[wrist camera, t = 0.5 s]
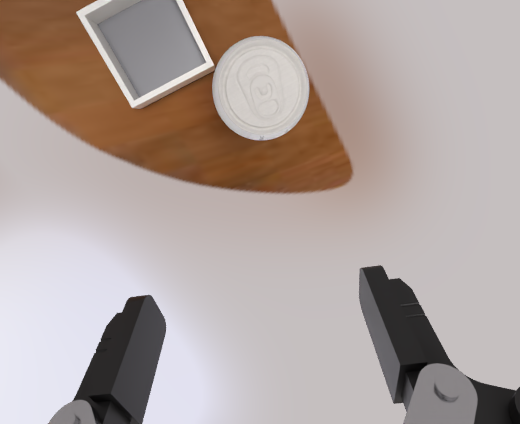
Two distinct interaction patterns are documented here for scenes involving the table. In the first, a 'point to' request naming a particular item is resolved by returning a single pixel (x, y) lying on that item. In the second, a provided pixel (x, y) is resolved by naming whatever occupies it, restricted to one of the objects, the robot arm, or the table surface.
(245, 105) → the beer can
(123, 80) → the white square tray
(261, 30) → the table surface
